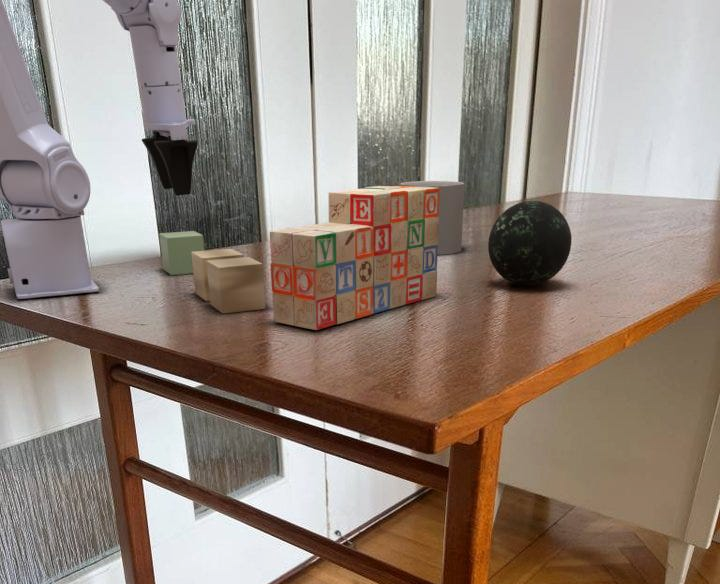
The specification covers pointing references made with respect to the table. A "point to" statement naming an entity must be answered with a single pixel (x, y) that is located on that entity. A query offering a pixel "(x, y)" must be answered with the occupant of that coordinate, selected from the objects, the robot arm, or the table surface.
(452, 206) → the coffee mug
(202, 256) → the middle birch block
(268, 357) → the table surface
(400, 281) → the stack of blocks
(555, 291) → the table surface
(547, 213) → the decorative stone
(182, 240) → the sage block
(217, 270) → the front birch block
